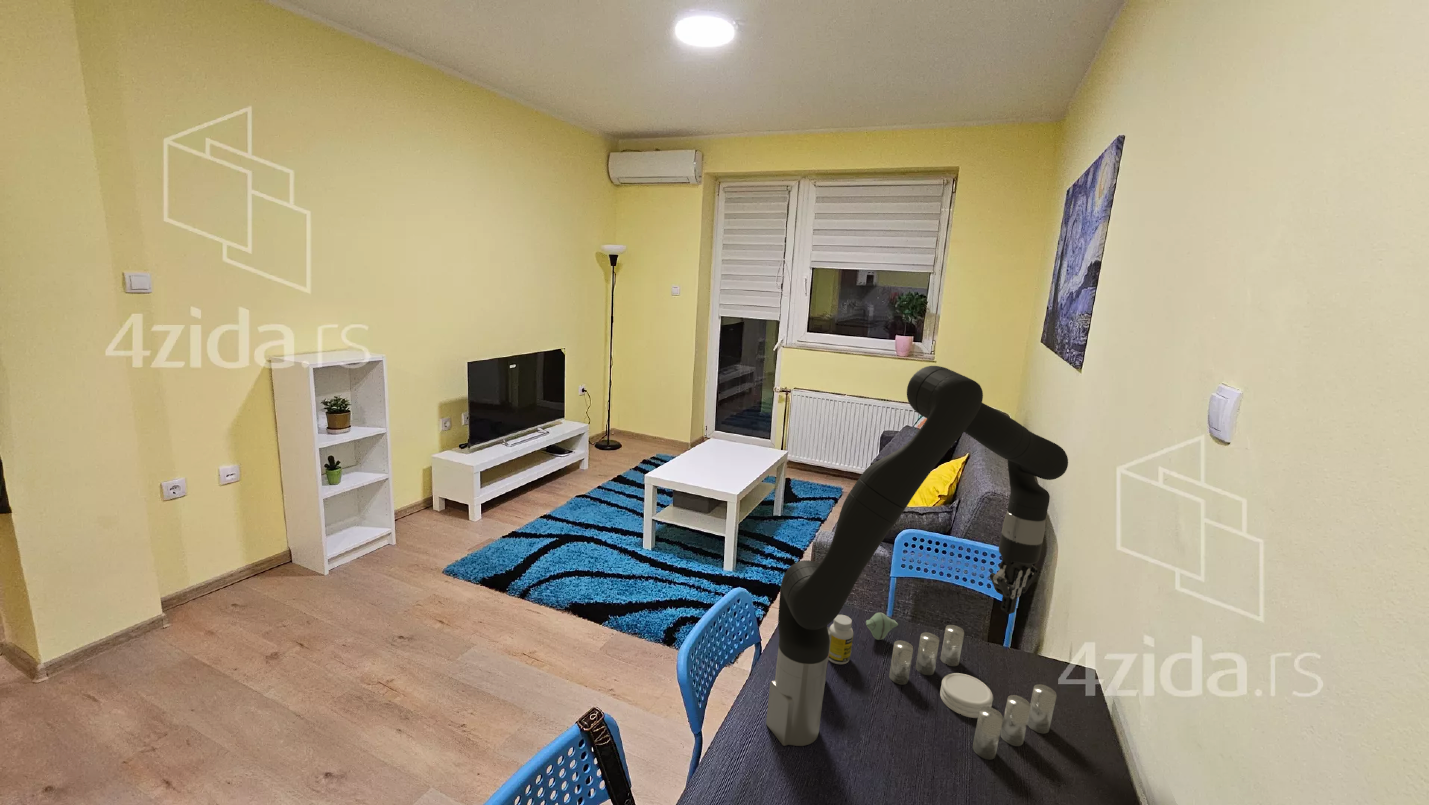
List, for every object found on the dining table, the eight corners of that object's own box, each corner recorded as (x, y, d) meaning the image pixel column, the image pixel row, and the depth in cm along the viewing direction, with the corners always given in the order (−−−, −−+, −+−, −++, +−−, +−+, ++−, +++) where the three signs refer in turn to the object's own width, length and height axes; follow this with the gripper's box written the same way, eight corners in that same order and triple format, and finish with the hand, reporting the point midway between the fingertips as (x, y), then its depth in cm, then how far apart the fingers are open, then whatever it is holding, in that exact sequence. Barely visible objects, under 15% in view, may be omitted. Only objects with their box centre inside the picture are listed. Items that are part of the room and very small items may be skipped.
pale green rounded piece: (865, 644, 142) (868, 619, 141) (859, 634, 146) (862, 609, 145) (896, 643, 143) (900, 618, 142) (889, 633, 147) (893, 609, 146)
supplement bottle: (844, 668, 133) (850, 629, 131) (822, 659, 136) (826, 620, 133) (853, 656, 137) (858, 618, 135) (830, 647, 140) (835, 609, 138)
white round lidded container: (994, 699, 127) (996, 684, 126) (986, 727, 118) (989, 712, 118) (945, 679, 132) (947, 665, 131) (934, 705, 124) (937, 690, 123)
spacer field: (985, 762, 109) (993, 724, 107) (885, 675, 132) (890, 642, 130) (1053, 730, 119) (1061, 695, 117) (948, 653, 141) (953, 623, 139)
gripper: (1017, 548, 115) (1002, 628, 119) (1059, 538, 121) (1043, 614, 125) (984, 532, 121) (970, 608, 125) (1026, 523, 128) (1011, 596, 131)
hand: (1007, 611), depth 125 cm, fingers closed
